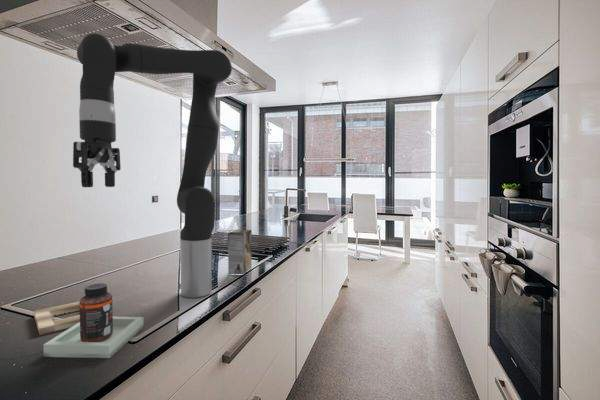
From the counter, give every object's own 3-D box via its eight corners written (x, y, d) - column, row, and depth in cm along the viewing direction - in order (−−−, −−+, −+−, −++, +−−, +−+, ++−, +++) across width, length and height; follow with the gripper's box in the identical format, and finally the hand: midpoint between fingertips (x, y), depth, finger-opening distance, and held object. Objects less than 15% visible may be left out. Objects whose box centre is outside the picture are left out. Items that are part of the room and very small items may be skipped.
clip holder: (34, 316, 79) (34, 311, 79) (94, 303, 88) (94, 298, 88) (39, 335, 69) (39, 328, 69) (106, 318, 79) (106, 312, 78)
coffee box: (236, 268, 125) (236, 229, 124) (251, 269, 124) (252, 229, 123) (227, 275, 116) (227, 232, 115) (244, 276, 115) (244, 233, 114)
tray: (89, 326, 74) (89, 316, 74) (143, 327, 74) (143, 317, 74) (43, 356, 61) (43, 344, 61) (109, 358, 61) (109, 345, 61)
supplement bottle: (117, 337, 68) (116, 285, 67) (84, 347, 63) (83, 292, 63) (108, 328, 72) (107, 279, 71) (76, 337, 67) (75, 286, 67)
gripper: (93, 115, 70) (95, 187, 71) (129, 126, 84) (130, 187, 85) (60, 115, 70) (62, 187, 71) (101, 126, 84) (102, 186, 85)
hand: (99, 187), depth 78 cm, fingers open, 8 cm apart
